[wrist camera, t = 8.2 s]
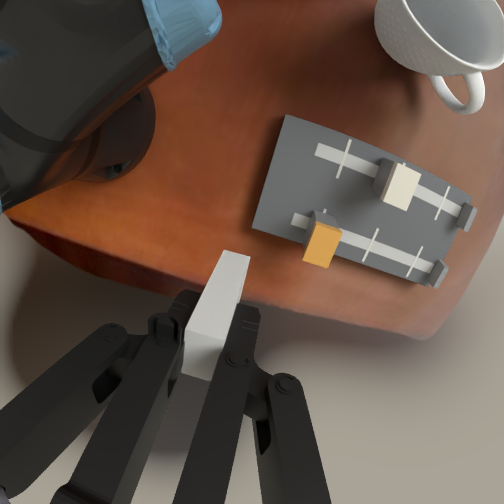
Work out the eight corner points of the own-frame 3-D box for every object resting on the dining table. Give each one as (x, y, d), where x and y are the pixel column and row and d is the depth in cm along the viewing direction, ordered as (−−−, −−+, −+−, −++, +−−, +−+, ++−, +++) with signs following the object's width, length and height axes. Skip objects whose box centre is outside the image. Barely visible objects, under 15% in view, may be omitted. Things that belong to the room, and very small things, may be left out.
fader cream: (370, 188, 28) (383, 201, 24) (382, 155, 26) (398, 162, 22) (390, 197, 28) (406, 211, 24) (403, 165, 26) (421, 174, 22)
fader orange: (301, 239, 32) (302, 260, 27) (313, 208, 30) (316, 224, 26) (323, 246, 32) (327, 268, 27) (335, 216, 30) (342, 233, 26)
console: (253, 221, 34) (248, 234, 31) (286, 114, 28) (285, 113, 25) (423, 279, 34) (433, 295, 30) (464, 192, 28) (480, 201, 24)
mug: (471, 103, 23) (540, 107, 11) (401, 125, 27) (460, 132, 15) (418, -5, 18) (466, -46, 7) (343, 10, 22) (366, -44, 10)
